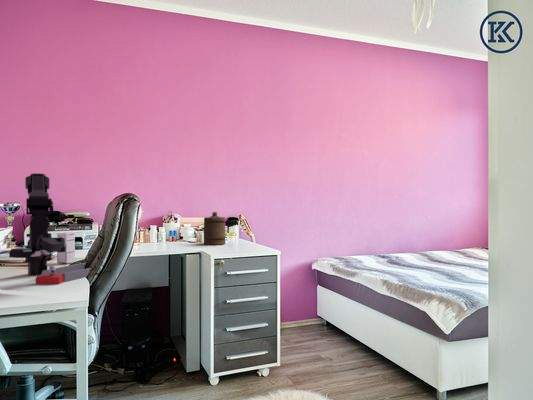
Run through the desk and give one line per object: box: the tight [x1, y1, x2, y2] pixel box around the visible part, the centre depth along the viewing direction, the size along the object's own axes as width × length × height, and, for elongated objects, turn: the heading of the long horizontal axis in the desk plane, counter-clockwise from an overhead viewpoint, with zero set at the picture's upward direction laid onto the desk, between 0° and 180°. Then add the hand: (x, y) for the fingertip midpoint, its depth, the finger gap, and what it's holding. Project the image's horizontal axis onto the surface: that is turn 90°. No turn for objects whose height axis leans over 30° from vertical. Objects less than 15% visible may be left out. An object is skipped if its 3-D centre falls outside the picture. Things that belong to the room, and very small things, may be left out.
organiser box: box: [36, 261, 91, 283], centre depth 160 cm, size 13×25×3 cm, turn 162°
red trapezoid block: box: [35, 265, 65, 285], centre depth 146 cm, size 8×7×6 cm
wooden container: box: [203, 211, 226, 246], centre depth 281 cm, size 15×15×22 cm
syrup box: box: [56, 231, 76, 264], centre depth 195 cm, size 6×6×14 cm
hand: (38, 275), depth 144 cm, fingers closed
